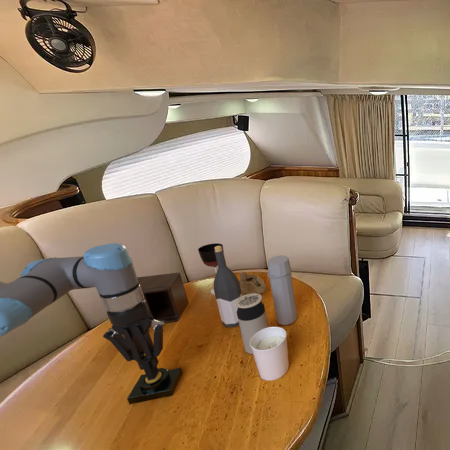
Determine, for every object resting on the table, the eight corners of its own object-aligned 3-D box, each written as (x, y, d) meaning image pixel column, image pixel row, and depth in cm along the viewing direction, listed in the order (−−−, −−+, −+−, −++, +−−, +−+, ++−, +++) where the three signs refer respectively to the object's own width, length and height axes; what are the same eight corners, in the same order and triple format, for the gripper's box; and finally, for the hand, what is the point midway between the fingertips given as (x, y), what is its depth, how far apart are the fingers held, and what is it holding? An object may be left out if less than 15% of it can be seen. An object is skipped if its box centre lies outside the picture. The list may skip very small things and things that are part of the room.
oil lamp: (256, 303, 124) (253, 286, 121) (230, 295, 130) (226, 278, 127) (277, 289, 134) (274, 273, 131) (251, 282, 139) (248, 266, 136)
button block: (129, 404, 83) (124, 393, 81) (143, 380, 90) (139, 369, 88) (172, 395, 85) (168, 384, 84) (182, 372, 92) (179, 362, 91)
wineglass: (211, 286, 136) (201, 244, 128) (233, 283, 138) (224, 242, 131) (206, 296, 129) (195, 253, 121) (230, 293, 131) (220, 250, 124)
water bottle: (302, 318, 116) (294, 258, 107) (283, 329, 110) (273, 267, 101) (287, 309, 121) (278, 251, 112) (269, 319, 115) (258, 259, 106)
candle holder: (254, 386, 88) (246, 353, 84) (259, 360, 97) (252, 329, 92) (290, 379, 90) (285, 346, 86) (292, 354, 99) (287, 324, 95)
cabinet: (126, 329, 110) (112, 295, 105) (141, 309, 121) (130, 278, 115) (177, 321, 114) (167, 288, 109) (188, 302, 125) (179, 272, 120)
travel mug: (274, 346, 102) (266, 300, 96) (249, 358, 98) (238, 311, 91) (266, 334, 108) (257, 289, 101) (241, 344, 103) (231, 299, 97)
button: (144, 388, 84) (142, 383, 84) (150, 377, 88) (148, 372, 87) (159, 385, 85) (158, 380, 85) (165, 374, 89) (163, 370, 88)
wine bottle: (251, 315, 117) (236, 243, 106) (236, 329, 110) (218, 253, 99) (233, 312, 119) (217, 240, 108) (217, 325, 112) (197, 250, 101)
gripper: (162, 291, 82) (185, 360, 91) (103, 299, 79) (132, 370, 88) (149, 308, 75) (175, 381, 84) (84, 318, 72) (118, 392, 81)
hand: (153, 375), depth 86 cm, fingers closed
